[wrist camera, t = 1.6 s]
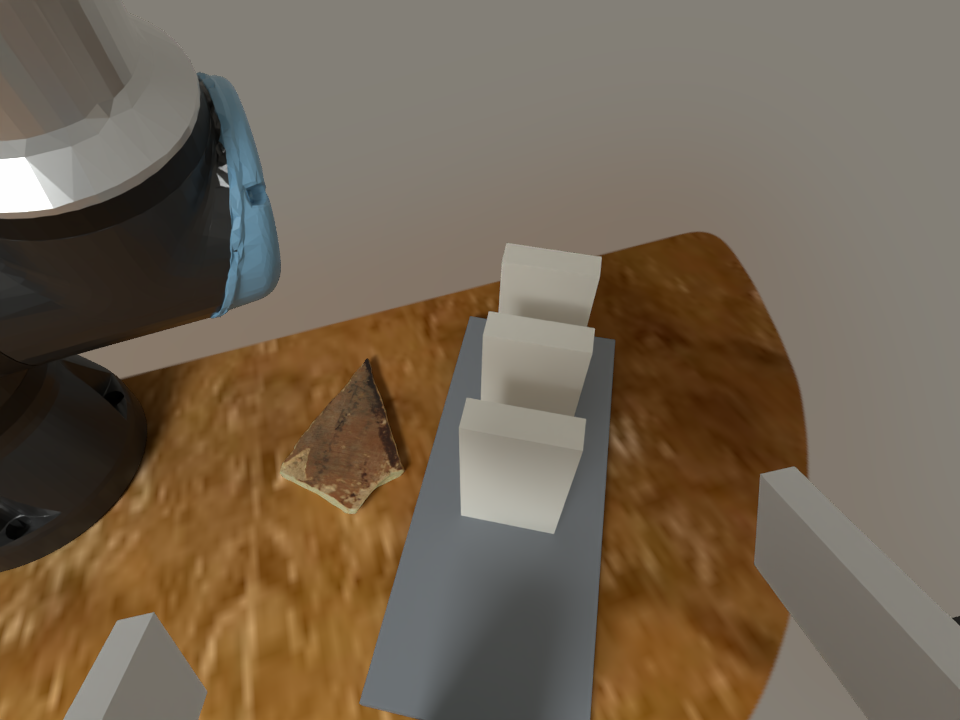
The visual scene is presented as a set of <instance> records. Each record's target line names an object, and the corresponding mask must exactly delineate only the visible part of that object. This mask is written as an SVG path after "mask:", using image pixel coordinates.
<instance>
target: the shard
mask: <svg viewBox="0 0 960 720" xmlns="http://www.w3.org/2000/svg"><path fill="white" fill-rule="evenodd" d="M403 472H404V467H403V465H402V464H401V460H400V457H399V455H398V451H397V447H396V444H395V440H394V438H393V435H392V432H391V429H390V426H389V423H388V419H387V415H386V410H385V408H384V404H383V401H382V398H381V395H380V393H379V391H378V388H377V386H376V384H375V382H374V379H373V375H372V367H371V365H370V362H369V360H368V359H366V360H365V362H364V363H363V364H362V366H361V367H360V368H359V369H358V370H357V372H356V373H355V374H354V375H353V376H352V378H351V380H350V381H349V383H348V384H347V385H346V386H345V387H344V388H343V390H342V391H341V392H340V393H339V394H338V395H337V396H336V397H335V398H334V399H333V400H332V401H331V402H330V403H329V404H328V405H327V407H326V408H325V409H324V411H323V412H322V413H321V414H320V415H319V416H318V417H317V418H316V419H315V420H314V422H313V423H312V424H311V426H310V428H309V429H308V430H307V431H306V432H305V433H304V434H303V435H302V437H301V438H300V440H299V441H298V443H297V444H296V445H295V447H294V450H293V452H292V453H291V454H290V455H289V456H288V458H287V459H286V460H285V461H284V462H283V464H282V466H281V471H280V474H281V475H282V476H283V477H284V478H286V479H287V480H289V481H292V482H294V483H296V484H298V485H300V486H302V487H304V488H306V489H308V490H310V491H312V492H314V493H316V494H319V495H320V496H321V497H323V498H324V499H326V500H327V501H328V502H330V503H331V504H332V505H335V506H336V507H338V508H340V509H341V510H342V511H344V512H345V513H349V514H355V513H356V512H357V511H358V509H359V508H360V507H361V506H362V504H363V503H364V501H365V500H366V498H367V497H368V496H369V495H370V493H371V492H372V491H373V490H374V489H376V488H377V487H378V486H381V485H383V484H385V483H387V482H389V481H391V480H393V479H395V478H398V477H399V476H401V475H402V474H403Z"/></svg>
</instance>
